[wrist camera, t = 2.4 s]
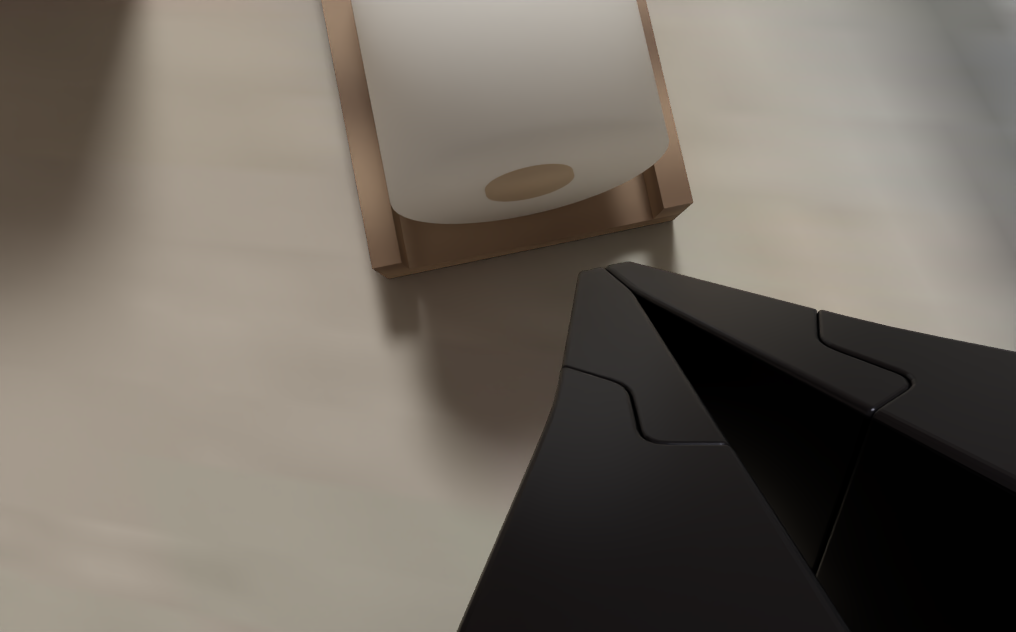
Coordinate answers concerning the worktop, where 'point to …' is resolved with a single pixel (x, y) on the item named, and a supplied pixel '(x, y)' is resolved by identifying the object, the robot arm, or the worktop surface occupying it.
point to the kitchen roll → (507, 103)
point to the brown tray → (434, 246)
